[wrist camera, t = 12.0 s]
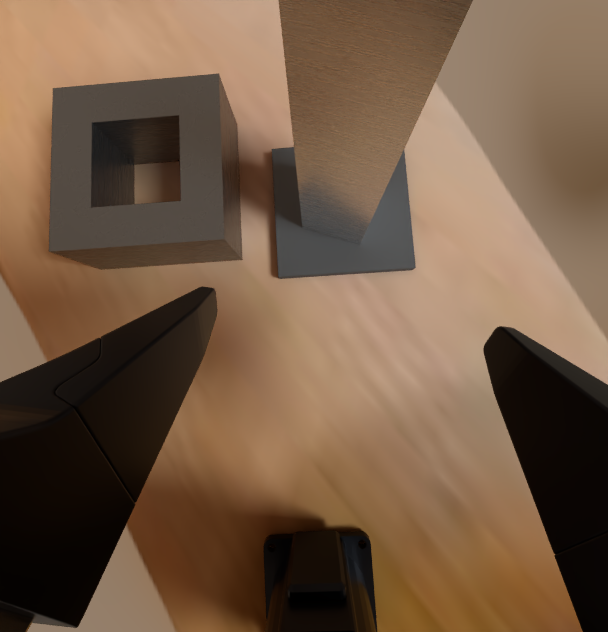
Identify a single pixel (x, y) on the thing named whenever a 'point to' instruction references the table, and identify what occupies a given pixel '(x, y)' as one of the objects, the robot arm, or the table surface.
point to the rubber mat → (333, 253)
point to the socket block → (139, 148)
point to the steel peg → (358, 97)
